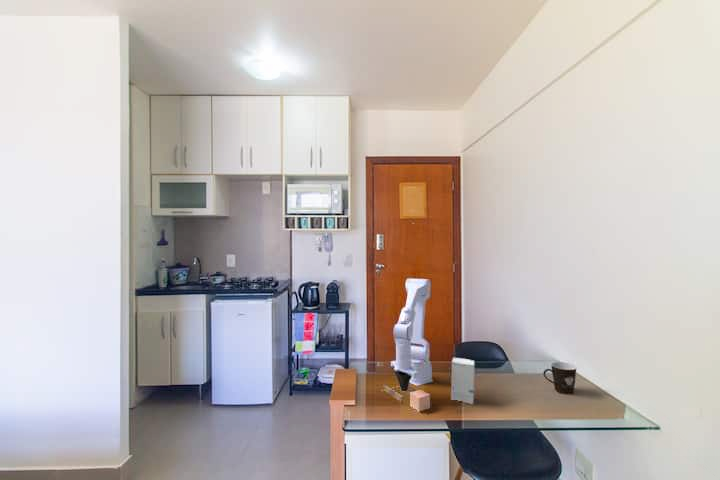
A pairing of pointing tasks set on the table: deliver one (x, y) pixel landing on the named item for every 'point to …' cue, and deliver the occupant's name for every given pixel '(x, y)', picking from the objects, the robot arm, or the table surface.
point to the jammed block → (419, 400)
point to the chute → (395, 394)
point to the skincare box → (462, 380)
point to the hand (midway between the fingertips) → (404, 390)
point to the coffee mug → (563, 377)
